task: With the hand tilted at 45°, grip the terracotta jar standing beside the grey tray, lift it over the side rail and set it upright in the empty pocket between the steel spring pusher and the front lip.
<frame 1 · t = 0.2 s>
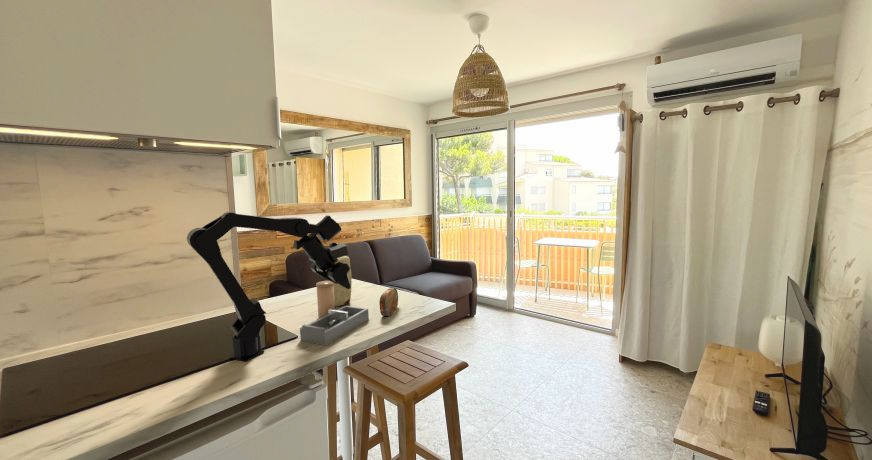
hand: (343, 285, 122), 15 cm above the kitchen counter, tool tilted 35°, fingers open, 9 cm apart
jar: (326, 317, 134), on the kitchen counter
pusher: (334, 319, 121), point 4 cm above the kitchen counter, slide at 0.0 cm
grey tray: (337, 329, 122), on the kitchen counter
brown flat rounded slab: (389, 312, 138), on the kitchen counter
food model: (342, 304, 148), on the kitchen counter
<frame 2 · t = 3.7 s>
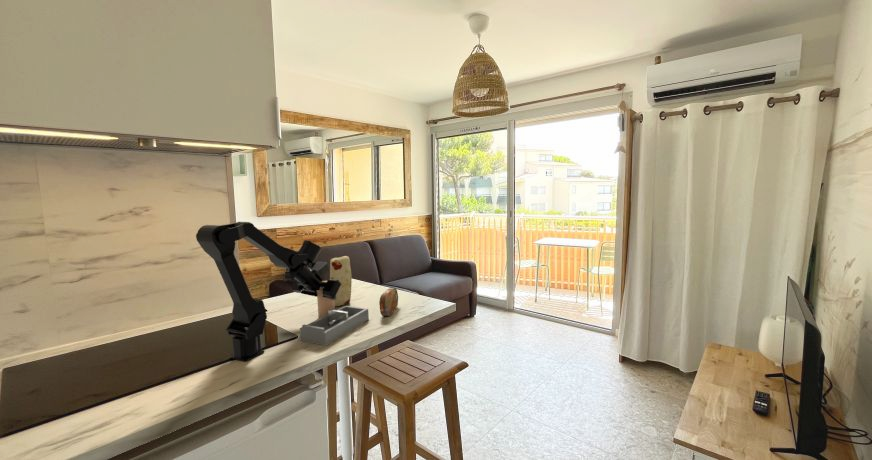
hand: (328, 297, 134), 7 cm above the kitchen counter, tool tilted 45°, fingers closed on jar, 6 cm apart
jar: (326, 317, 134), on the kitchen counter, touching gripper
everything else where it was.
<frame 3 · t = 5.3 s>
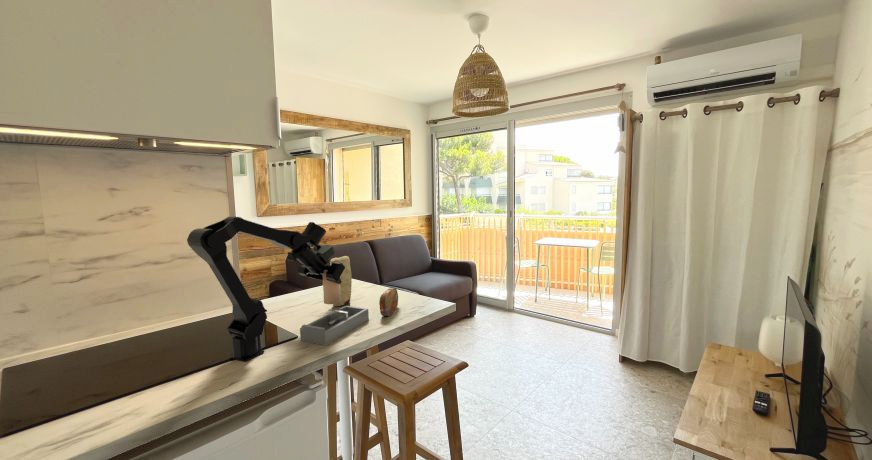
hand: (334, 281, 132), 13 cm above the kitchen counter, tool tilted 45°, fingers closed on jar, 6 cm apart
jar: (332, 301, 132), point 6 cm above the kitchen counter, touching gripper
everything else where it was.
when the fingers open (9 cm above the kitchen counter, at t = 7.4 s): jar drops 1 cm, resting on grey tray.
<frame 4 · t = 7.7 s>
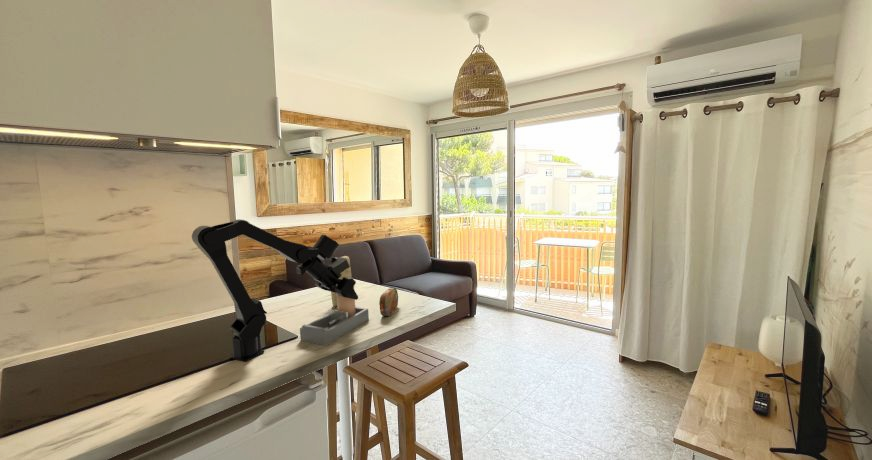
hand: (350, 295, 128), 10 cm above the kitchen counter, tool tilted 45°, fingers open, 9 cm apart
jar: (347, 320, 128), point 1 cm above the kitchen counter, touching grey tray
everything else where it was.
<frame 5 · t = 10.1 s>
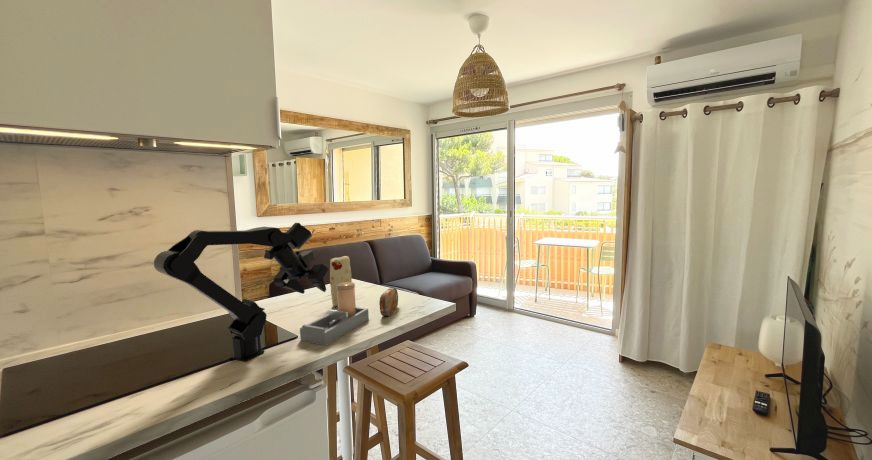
hand: (314, 291, 122), 13 cm above the kitchen counter, tool tilted 35°, fingers open, 9 cm apart
nothing on the kitchen counter moved.
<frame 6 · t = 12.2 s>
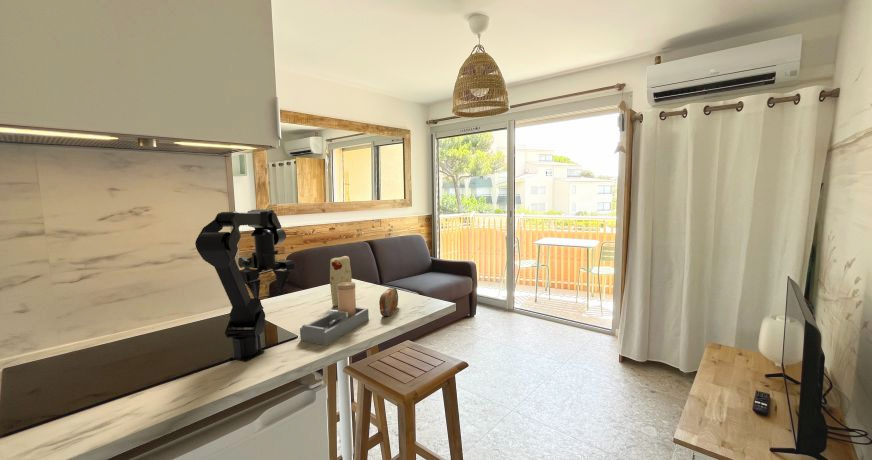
hand: (268, 295, 118), 13 cm above the kitchen counter, tool pointing down, fingers open, 9 cm apart
nothing on the kitchen counter moved.
at the end: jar 0.4 cm from the target spot on the grey tray, point 1.0 cm above the grey tray's base; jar tilted 1°; the gripper is holding nothing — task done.
